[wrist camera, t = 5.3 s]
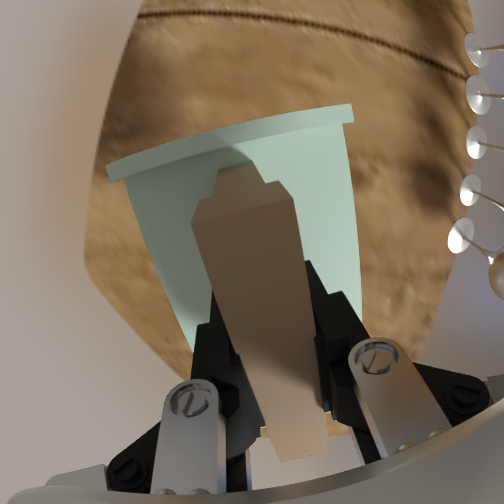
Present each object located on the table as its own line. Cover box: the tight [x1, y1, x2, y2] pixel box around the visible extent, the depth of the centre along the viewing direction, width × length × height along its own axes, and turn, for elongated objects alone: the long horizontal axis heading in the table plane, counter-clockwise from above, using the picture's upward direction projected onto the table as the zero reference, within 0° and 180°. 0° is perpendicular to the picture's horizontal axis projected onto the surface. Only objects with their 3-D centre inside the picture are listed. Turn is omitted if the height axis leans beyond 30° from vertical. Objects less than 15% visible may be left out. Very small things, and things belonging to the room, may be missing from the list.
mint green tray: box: [105, 104, 362, 462], centre depth 11 cm, size 12×8×8 cm, turn 13°
